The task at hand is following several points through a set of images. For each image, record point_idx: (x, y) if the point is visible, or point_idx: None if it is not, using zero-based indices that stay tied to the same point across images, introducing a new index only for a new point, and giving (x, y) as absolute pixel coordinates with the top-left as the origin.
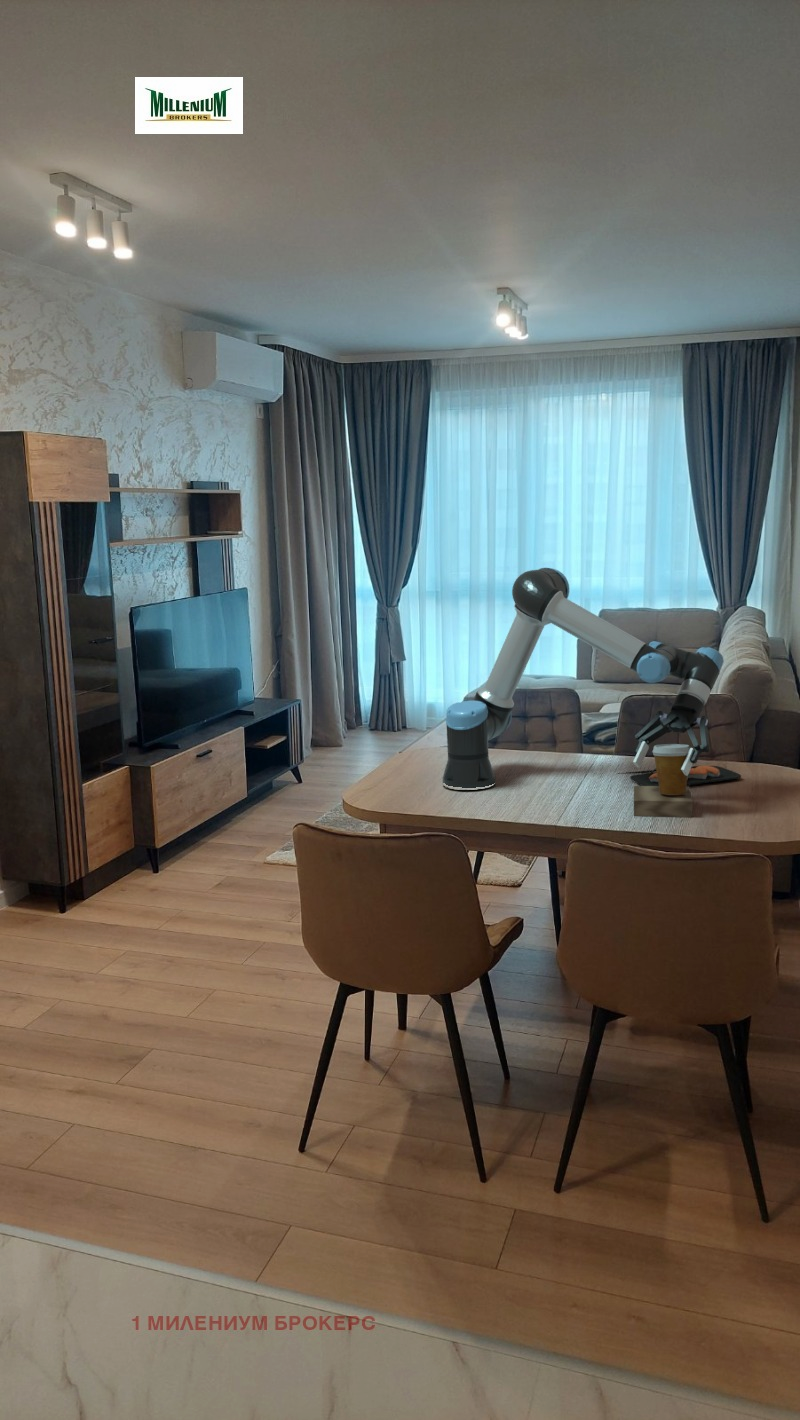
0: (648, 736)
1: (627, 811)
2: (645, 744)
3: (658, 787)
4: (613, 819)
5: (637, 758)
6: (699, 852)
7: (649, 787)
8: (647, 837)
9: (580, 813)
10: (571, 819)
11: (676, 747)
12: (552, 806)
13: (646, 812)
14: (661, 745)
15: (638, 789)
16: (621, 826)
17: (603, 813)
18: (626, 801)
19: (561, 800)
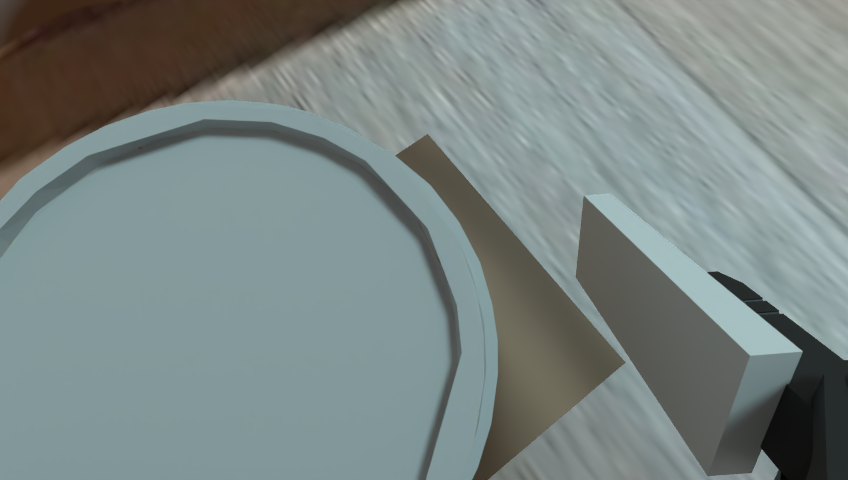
0: (840, 470)
1: (491, 204)
2: (716, 365)
3: (490, 430)
4: (460, 93)
5: (600, 213)
6: (54, 17)
7: (529, 390)
8: (251, 24)
9: (605, 72)
10: (570, 8)
11: (129, 366)
12: (756, 71)
13: None
14: (452, 424)
15: (546, 309)
16: (385, 53)
17: (542, 124)
18: (606, 327)
19: (813, 151)
